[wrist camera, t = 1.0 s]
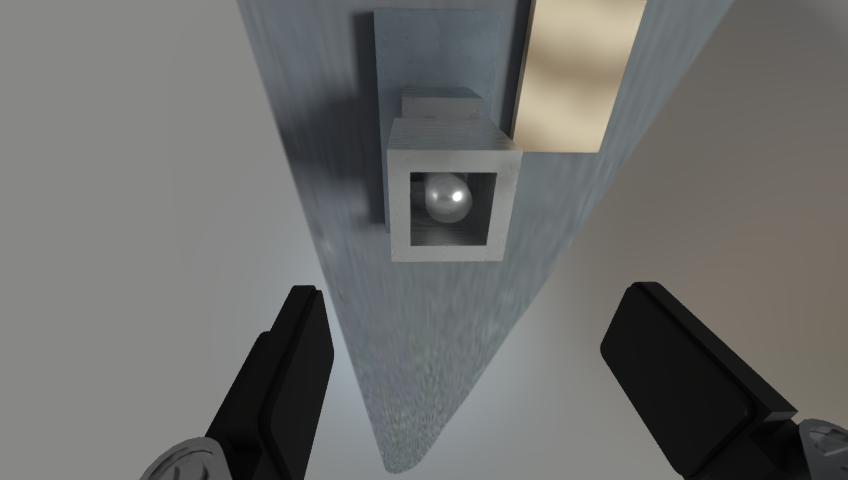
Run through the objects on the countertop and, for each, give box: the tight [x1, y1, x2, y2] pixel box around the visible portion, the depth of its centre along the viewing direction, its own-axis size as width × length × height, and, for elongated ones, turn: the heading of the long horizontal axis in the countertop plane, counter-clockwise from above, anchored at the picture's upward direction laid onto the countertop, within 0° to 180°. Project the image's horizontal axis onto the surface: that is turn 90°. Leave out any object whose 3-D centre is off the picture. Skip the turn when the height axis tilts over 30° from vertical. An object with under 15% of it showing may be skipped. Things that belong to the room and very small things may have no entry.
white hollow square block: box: [387, 118, 523, 262], centre depth 18 cm, size 6×6×7 cm
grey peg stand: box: [373, 8, 503, 233], centre depth 22 cm, size 18×9×14 cm, turn 179°
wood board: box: [509, 0, 647, 152], centre depth 24 cm, size 14×8×1 cm, turn 179°
